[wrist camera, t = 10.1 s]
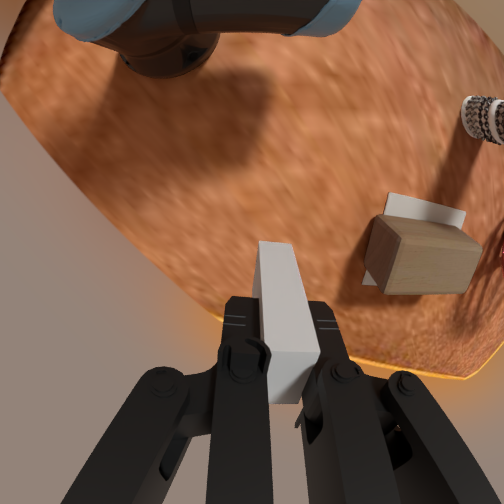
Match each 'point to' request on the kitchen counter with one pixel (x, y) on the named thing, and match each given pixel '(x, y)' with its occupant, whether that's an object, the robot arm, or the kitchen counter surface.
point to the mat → (418, 215)
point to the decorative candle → (484, 118)
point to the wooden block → (420, 257)
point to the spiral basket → (502, 259)
